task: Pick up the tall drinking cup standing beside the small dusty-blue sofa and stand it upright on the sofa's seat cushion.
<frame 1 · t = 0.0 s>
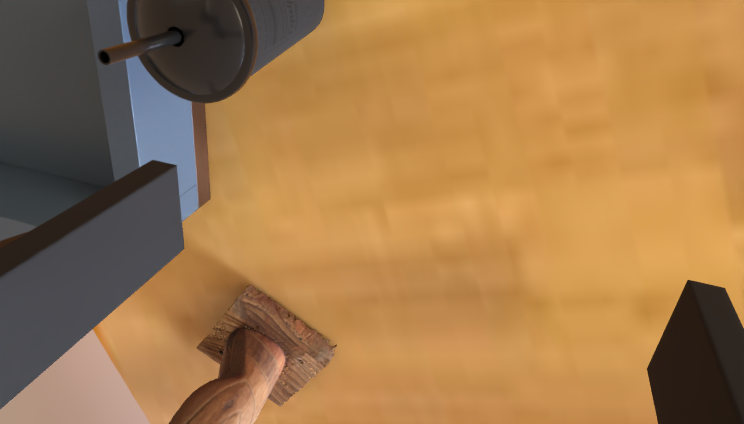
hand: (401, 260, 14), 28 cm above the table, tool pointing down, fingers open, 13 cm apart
sofa: (85, 77, 49), on the table
drinking cup: (294, 1, 41), on the table
bird sculpture: (270, 339, 58), on the table
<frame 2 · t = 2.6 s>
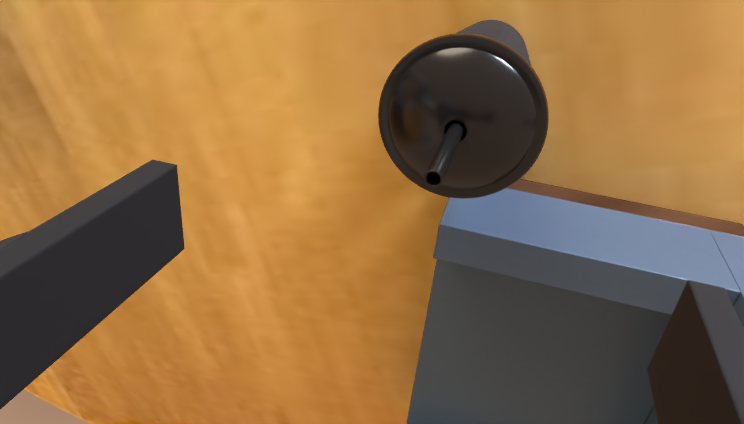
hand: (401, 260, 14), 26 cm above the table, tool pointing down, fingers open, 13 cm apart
sofa: (550, 324, 44), on the table
drinking cup: (489, 58, 36), on the table
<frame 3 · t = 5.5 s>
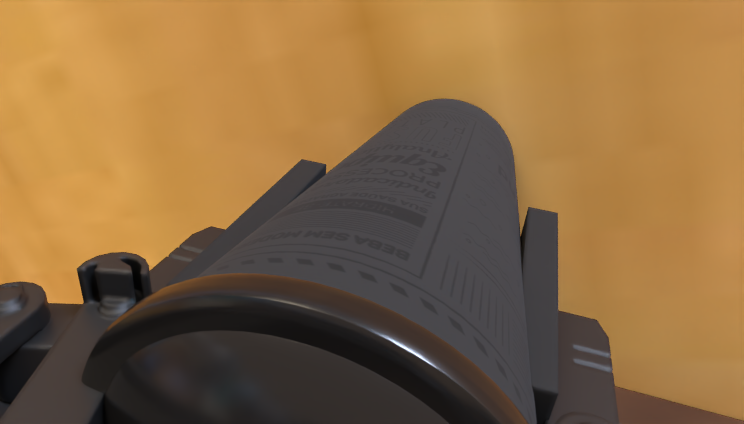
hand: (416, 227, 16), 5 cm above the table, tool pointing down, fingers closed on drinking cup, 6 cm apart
drinking cup: (446, 162, 20), on the table, touching gripper
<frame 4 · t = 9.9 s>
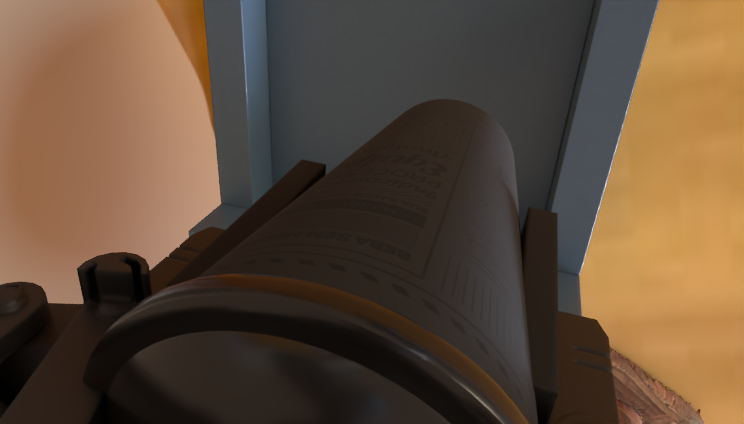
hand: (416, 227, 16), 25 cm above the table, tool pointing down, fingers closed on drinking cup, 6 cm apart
sofa: (425, 94, 40), on the table
drinking cup: (446, 162, 20), point 20 cm above the table, touching gripper
bird sculpture: (598, 401, 48), on the table
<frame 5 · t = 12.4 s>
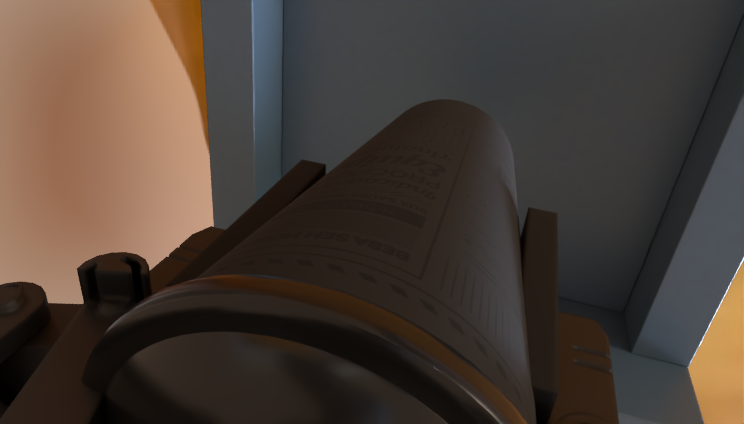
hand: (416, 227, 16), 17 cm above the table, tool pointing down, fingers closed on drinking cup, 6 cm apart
sofa: (477, 114, 31), on the table
drinking cup: (446, 162, 20), point 12 cm above the table, touching gripper
when the fingers open (11 cm above the table, at t = 14.5 s): drinking cup stays where it is, resting on sofa.
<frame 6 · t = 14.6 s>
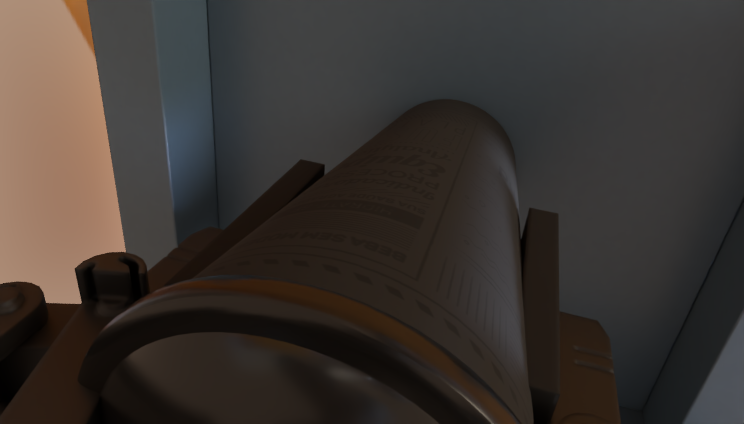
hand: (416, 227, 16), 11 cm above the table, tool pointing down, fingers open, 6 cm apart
sofa: (461, 155, 26), on the table
drinking cup: (447, 163, 20), point 6 cm above the table, touching sofa
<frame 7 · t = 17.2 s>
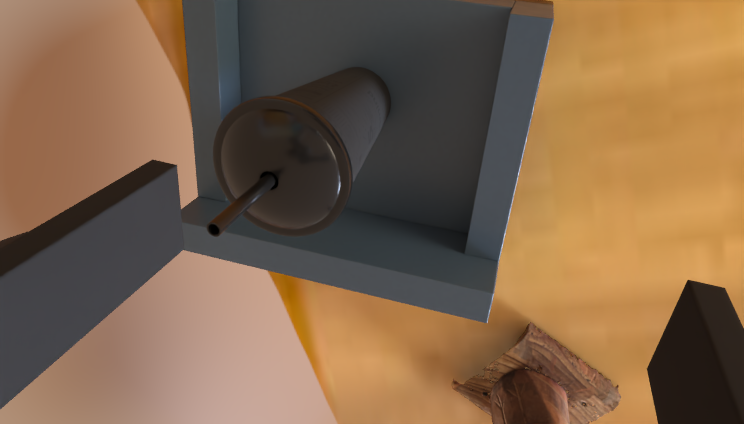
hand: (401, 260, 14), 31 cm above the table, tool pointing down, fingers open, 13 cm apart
sofa: (378, 105, 46), on the table
drinking cup: (359, 100, 40), point 6 cm above the table, touching sofa
bird sculpture: (533, 379, 54), on the table
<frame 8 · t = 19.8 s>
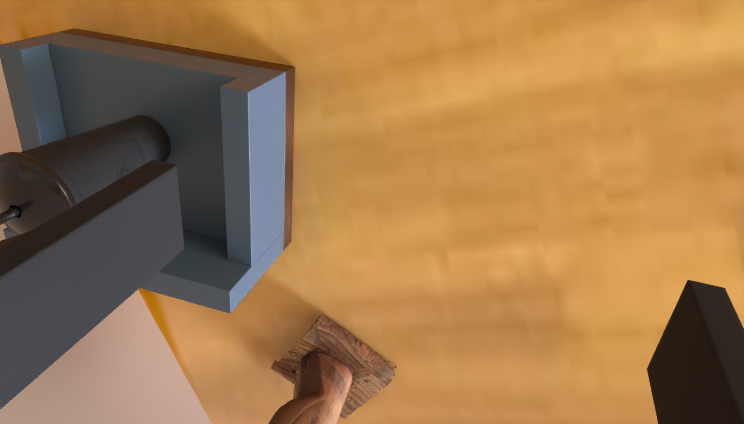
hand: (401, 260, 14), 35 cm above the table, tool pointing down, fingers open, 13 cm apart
sofa: (186, 138, 57), on the table
drinking cup: (149, 139, 51), point 6 cm above the table, touching sofa
bird sculpture: (335, 360, 66), on the table
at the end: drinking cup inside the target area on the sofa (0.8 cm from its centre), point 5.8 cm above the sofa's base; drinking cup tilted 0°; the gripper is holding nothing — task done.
